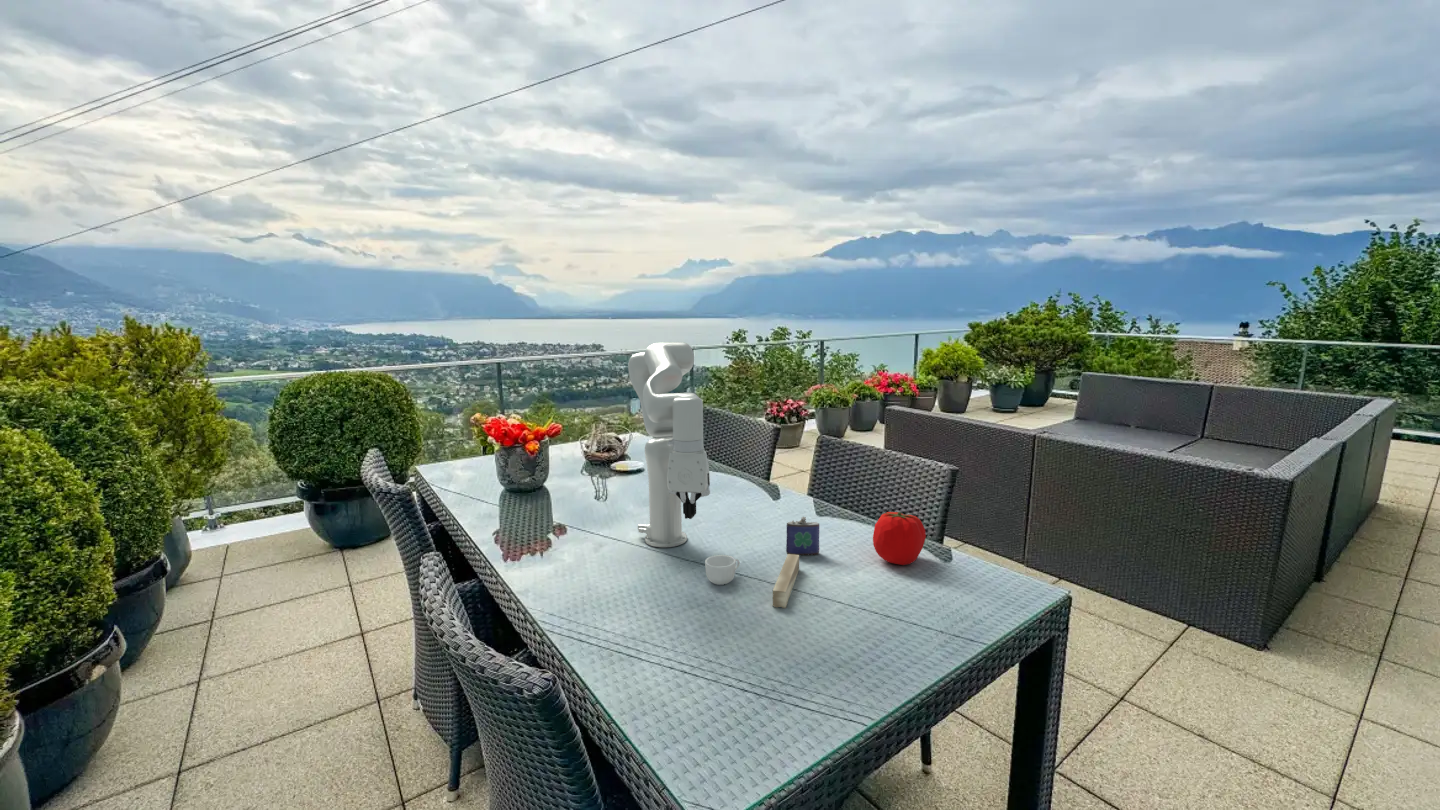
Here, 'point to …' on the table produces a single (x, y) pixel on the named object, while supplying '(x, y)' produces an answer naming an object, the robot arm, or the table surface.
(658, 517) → the robot arm
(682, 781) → the table surface
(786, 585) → the wooden bar
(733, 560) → the teacup
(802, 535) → the clover hip flask
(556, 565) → the table surface
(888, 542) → the tomato
